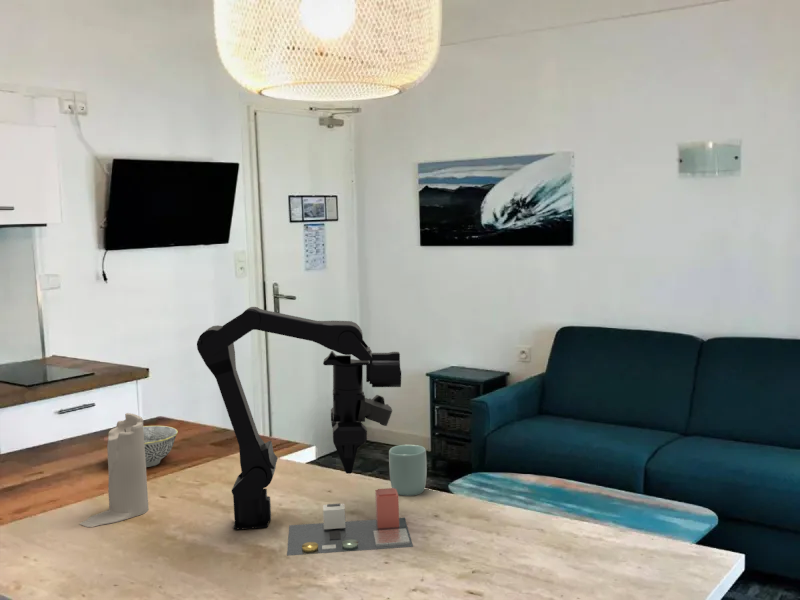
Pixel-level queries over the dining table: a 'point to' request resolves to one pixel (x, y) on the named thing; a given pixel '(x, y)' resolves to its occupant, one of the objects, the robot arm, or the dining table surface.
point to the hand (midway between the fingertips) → (347, 465)
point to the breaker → (334, 516)
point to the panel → (346, 537)
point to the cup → (408, 469)
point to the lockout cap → (387, 508)
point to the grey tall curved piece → (125, 473)
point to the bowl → (158, 443)
